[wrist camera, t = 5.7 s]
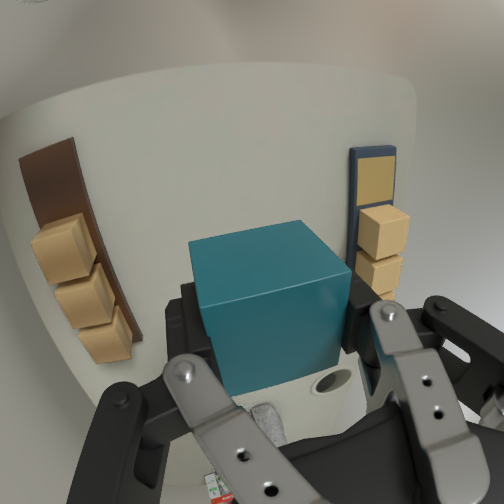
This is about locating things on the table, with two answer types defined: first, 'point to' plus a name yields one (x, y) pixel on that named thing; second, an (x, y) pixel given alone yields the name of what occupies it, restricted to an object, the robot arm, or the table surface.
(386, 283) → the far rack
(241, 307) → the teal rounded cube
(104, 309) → the near rack
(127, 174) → the table surface
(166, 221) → the table surface
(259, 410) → the decorative stone
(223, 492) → the ink box
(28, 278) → the table surface
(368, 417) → the robot arm
